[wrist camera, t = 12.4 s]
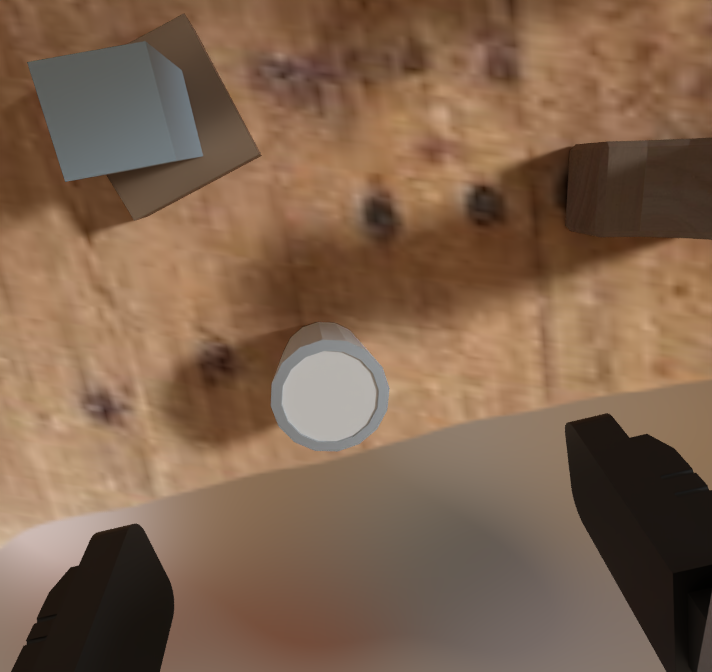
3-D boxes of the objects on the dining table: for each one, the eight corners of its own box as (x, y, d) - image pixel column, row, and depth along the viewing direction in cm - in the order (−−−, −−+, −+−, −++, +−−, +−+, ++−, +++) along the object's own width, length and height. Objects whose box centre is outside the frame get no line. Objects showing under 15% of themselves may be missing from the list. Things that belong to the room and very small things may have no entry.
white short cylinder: (358, 418, 44) (371, 463, 37) (262, 397, 43) (257, 439, 36) (386, 326, 42) (404, 355, 36) (286, 301, 41) (286, 326, 35)
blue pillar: (97, 85, 33) (27, 62, 24) (182, 70, 34) (145, 41, 24) (122, 171, 35) (65, 181, 25) (203, 156, 35) (176, 160, 26)
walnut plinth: (75, 94, 37) (51, 85, 33) (194, 29, 37) (184, 13, 33) (149, 215, 39) (134, 220, 35) (261, 155, 39) (259, 154, 35)
